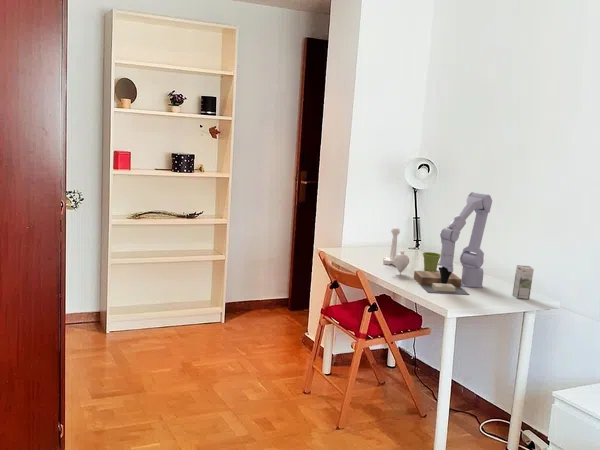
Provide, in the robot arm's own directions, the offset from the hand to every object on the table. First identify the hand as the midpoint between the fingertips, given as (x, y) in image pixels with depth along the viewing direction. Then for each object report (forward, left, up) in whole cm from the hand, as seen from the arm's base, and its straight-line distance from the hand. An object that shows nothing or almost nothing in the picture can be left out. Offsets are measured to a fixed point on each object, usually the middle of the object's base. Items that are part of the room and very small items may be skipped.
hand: (444, 283), depth 285 cm
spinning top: (+14, -26, -3) cm, 29 cm away
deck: (0, -12, -3) cm, 12 cm away
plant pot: (-5, -39, -3) cm, 39 cm away
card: (0, 0, -1) cm, 1 cm away
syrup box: (-34, +6, -3) cm, 35 cm away
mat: (0, 0, -3) cm, 3 cm away
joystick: (+14, -49, -3) cm, 51 cm away
